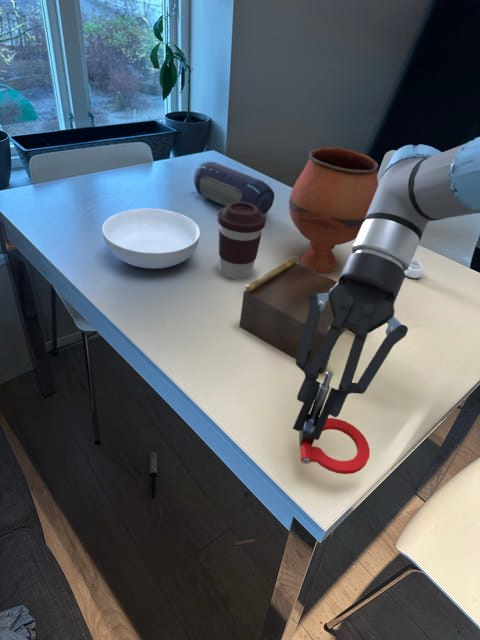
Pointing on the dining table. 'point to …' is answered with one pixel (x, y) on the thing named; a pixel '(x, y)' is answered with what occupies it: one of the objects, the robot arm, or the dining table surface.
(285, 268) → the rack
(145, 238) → the serving bowl
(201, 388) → the dining table surface
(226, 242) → the coffee cup
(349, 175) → the goblet
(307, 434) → the tow hook
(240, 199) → the portable speaker
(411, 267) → the white jar
